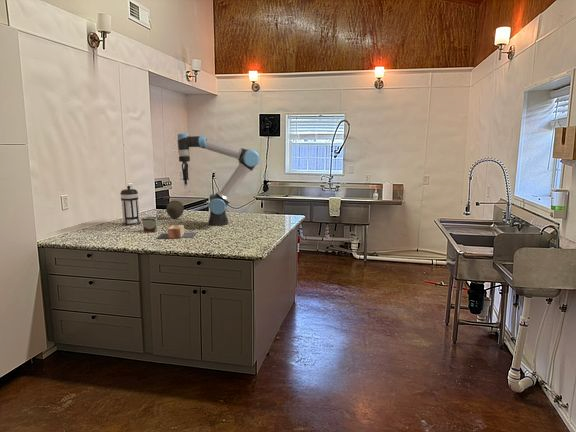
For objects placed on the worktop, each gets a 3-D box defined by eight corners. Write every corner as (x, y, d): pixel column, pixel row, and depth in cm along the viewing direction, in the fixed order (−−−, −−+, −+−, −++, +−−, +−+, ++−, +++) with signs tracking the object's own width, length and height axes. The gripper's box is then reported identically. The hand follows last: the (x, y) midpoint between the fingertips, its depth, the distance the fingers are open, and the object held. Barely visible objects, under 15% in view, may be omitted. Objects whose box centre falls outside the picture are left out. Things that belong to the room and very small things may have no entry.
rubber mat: (196, 232, 281) (196, 232, 281) (193, 237, 267) (193, 236, 267) (161, 233, 279) (161, 233, 279) (156, 238, 266) (156, 237, 265)
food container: (162, 230, 289) (161, 217, 288) (156, 232, 284) (155, 218, 282) (147, 229, 293) (146, 216, 292) (142, 231, 288) (141, 217, 286)
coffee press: (116, 225, 310) (112, 186, 304) (131, 221, 324) (128, 184, 319) (133, 227, 303) (130, 187, 298) (148, 223, 318) (145, 185, 312)
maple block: (180, 237, 265) (184, 233, 277) (180, 228, 264) (183, 225, 276) (168, 238, 265) (172, 233, 277) (167, 229, 264) (171, 225, 275)
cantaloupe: (164, 218, 337) (163, 200, 334) (180, 216, 345) (179, 199, 342) (170, 220, 325) (169, 202, 323) (187, 218, 334) (186, 200, 331)
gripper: (180, 155, 291) (182, 188, 295) (177, 156, 278) (179, 190, 283) (191, 155, 292) (193, 187, 296) (188, 156, 279) (190, 189, 283)
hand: (186, 189), depth 289 cm, fingers closed
